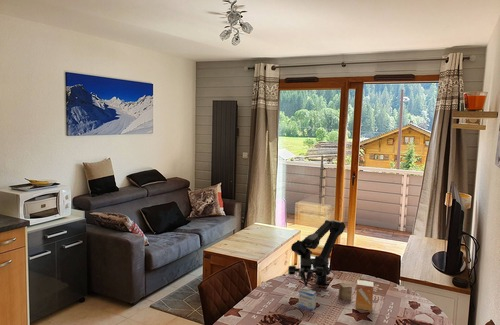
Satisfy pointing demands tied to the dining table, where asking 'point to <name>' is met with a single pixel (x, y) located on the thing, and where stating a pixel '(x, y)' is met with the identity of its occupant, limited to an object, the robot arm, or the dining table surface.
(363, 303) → the small box
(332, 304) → the dining table surface
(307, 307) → the medicine box
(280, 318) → the dining table surface
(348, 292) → the olive beige block
